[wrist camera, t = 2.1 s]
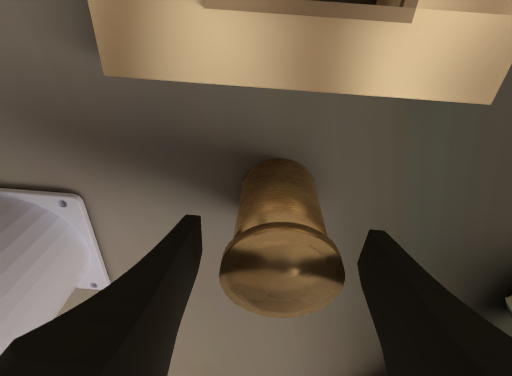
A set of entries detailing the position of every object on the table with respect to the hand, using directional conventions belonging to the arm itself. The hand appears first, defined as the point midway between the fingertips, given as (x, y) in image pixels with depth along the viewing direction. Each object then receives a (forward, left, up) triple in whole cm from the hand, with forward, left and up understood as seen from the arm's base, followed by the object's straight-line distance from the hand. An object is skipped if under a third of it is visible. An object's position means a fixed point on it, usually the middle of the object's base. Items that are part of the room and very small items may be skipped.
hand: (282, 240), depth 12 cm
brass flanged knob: (0, 0, -4) cm, 4 cm away
